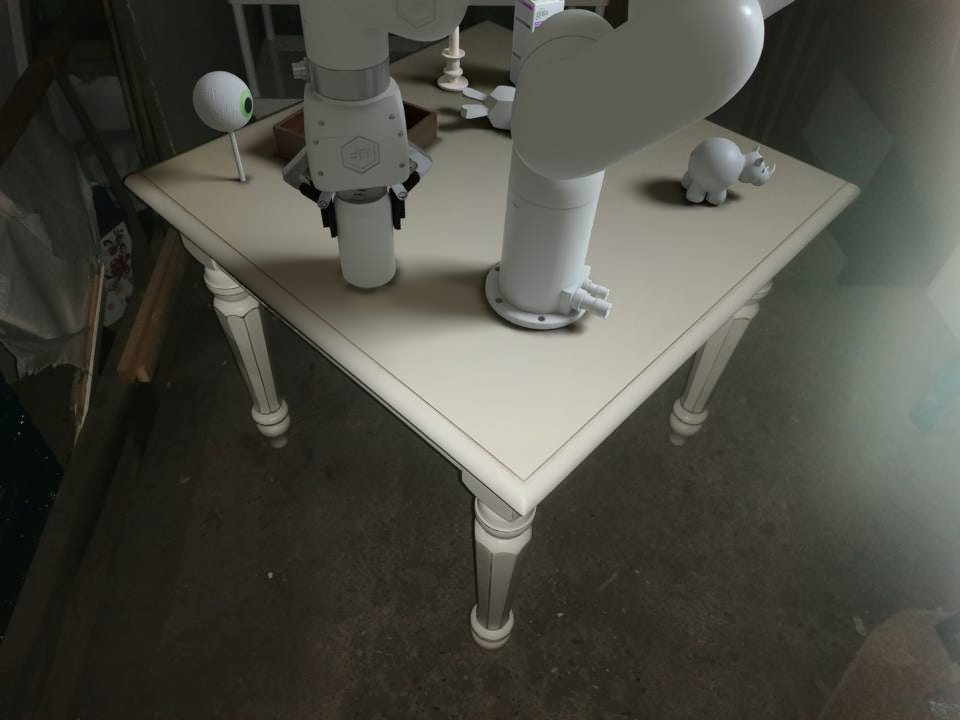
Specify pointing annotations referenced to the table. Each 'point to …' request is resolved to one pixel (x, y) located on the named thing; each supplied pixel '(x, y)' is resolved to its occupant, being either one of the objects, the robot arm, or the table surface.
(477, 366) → the table surface
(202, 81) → the lollipop
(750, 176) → the toy rhinoceros
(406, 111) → the divided tray
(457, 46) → the candle
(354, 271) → the can
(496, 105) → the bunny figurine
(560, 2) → the syrup box
